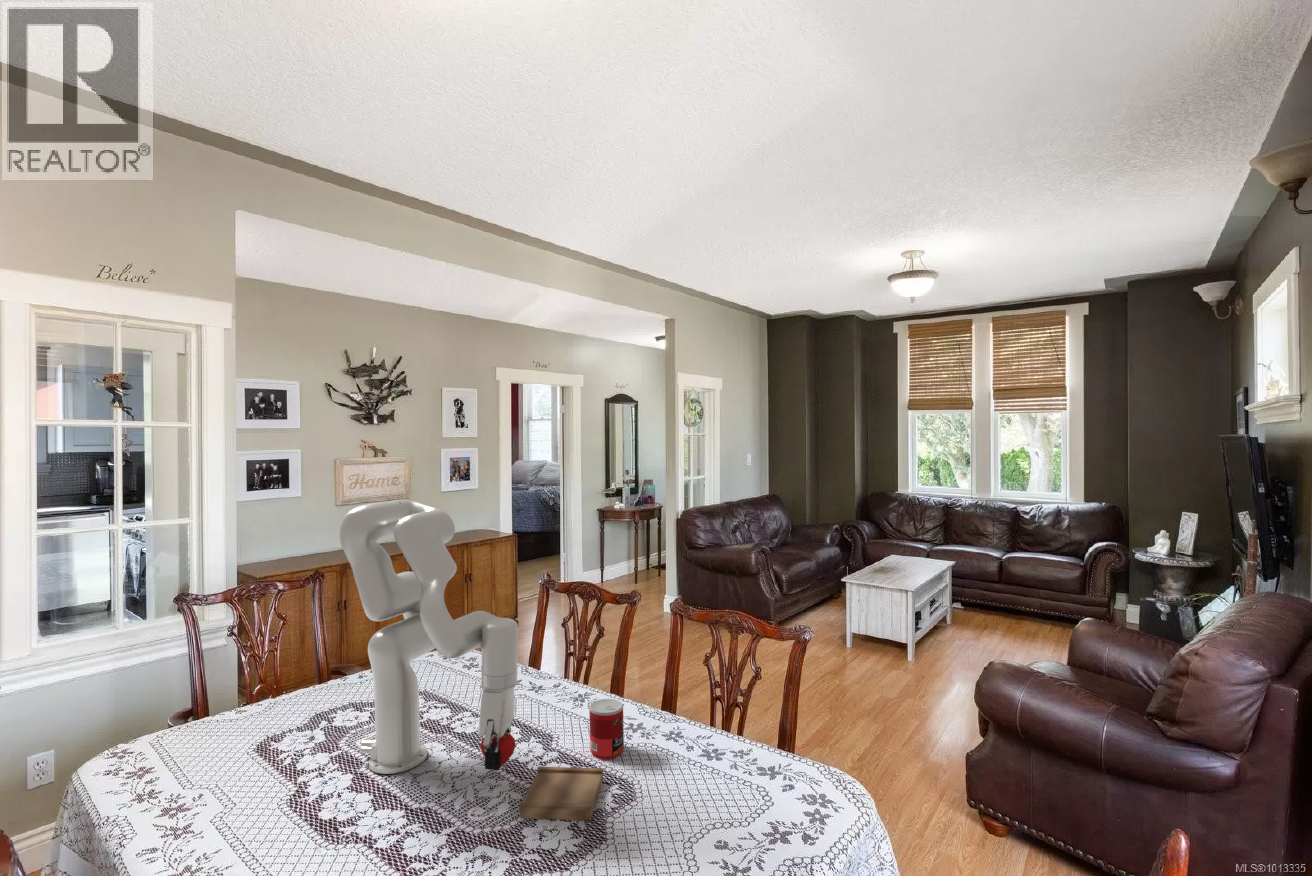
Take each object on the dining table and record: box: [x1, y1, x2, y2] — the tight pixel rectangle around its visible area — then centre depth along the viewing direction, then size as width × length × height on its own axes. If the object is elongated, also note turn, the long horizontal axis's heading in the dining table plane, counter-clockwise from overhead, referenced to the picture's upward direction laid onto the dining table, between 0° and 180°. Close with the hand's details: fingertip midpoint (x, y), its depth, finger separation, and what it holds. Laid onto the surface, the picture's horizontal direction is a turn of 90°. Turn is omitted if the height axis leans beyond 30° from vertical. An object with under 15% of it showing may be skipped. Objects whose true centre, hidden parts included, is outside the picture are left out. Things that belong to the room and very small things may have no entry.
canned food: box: [588, 698, 625, 760], centre depth 149 cm, size 8×8×11 cm
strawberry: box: [480, 732, 516, 769], centre depth 136 cm, size 6×8×10 cm
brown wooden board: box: [519, 766, 604, 821], centre depth 131 cm, size 14×14×3 cm
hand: (497, 759), depth 136 cm, fingers closed on strawberry, 5 cm apart
